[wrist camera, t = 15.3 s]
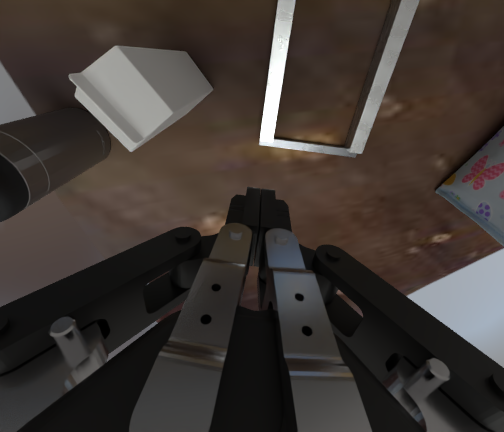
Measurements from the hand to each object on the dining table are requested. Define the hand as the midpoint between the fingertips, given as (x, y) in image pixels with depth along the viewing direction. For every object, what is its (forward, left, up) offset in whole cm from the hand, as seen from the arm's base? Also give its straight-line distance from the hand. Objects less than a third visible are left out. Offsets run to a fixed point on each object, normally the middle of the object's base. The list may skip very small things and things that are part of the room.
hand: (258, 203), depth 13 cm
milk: (-12, +2, -29) cm, 32 cm away
